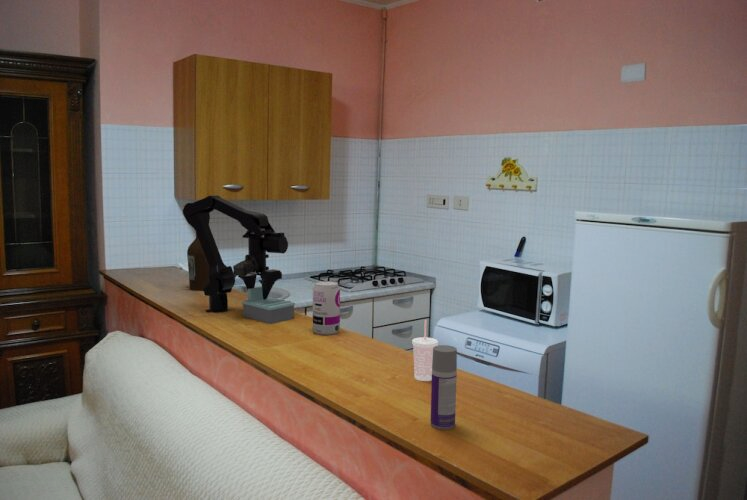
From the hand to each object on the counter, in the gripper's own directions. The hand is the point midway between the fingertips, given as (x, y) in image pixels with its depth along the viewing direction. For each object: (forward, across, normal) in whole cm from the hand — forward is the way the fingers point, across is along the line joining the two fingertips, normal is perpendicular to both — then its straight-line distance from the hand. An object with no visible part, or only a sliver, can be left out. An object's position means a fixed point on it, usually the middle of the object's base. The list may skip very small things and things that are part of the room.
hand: (257, 297), depth 194 cm
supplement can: (+6, +30, +2) cm, 31 cm away
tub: (+6, +6, 0) cm, 8 cm away
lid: (+1, +6, 0) cm, 6 cm away
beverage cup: (+6, +76, -11) cm, 78 cm away
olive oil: (+7, -56, +14) cm, 58 cm away
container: (+6, +94, -30) cm, 99 cm away
